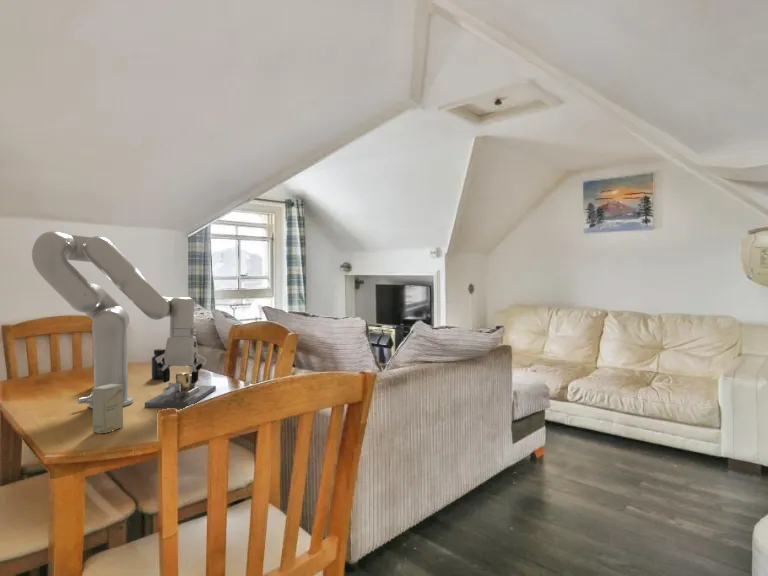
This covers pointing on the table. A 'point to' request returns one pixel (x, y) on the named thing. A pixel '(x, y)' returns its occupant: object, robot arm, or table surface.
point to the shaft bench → (180, 396)
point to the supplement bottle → (156, 370)
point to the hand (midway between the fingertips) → (180, 382)
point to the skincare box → (107, 408)
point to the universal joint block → (183, 381)
